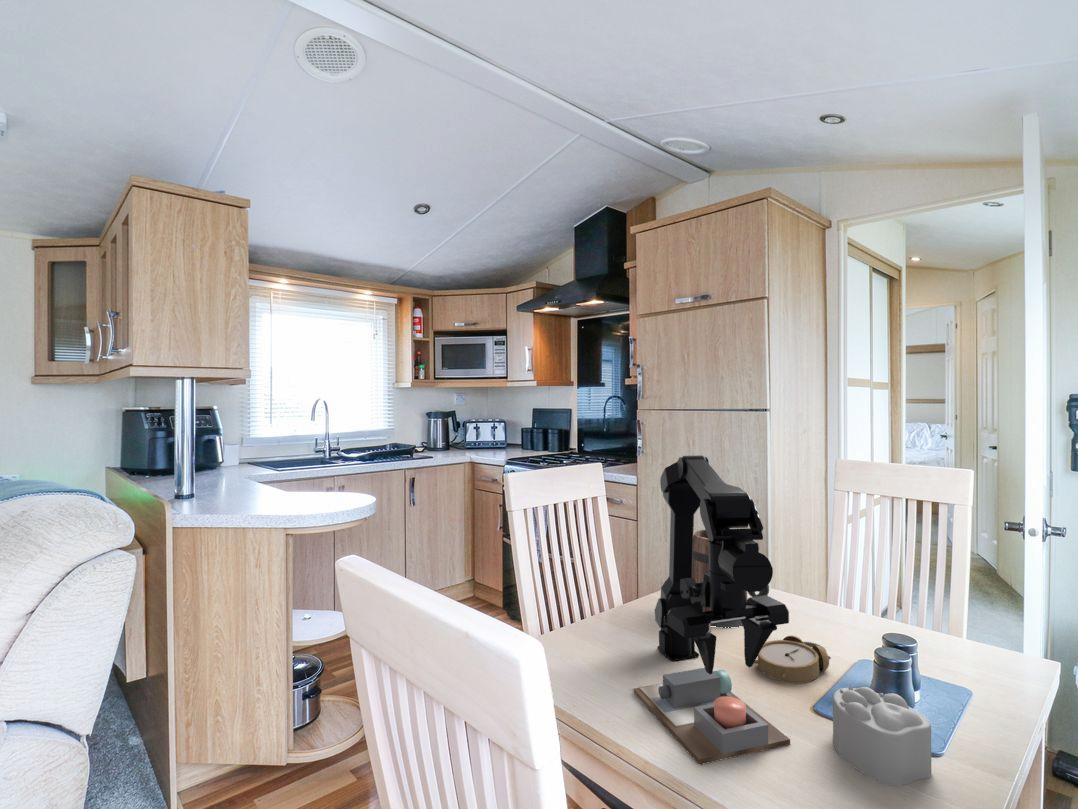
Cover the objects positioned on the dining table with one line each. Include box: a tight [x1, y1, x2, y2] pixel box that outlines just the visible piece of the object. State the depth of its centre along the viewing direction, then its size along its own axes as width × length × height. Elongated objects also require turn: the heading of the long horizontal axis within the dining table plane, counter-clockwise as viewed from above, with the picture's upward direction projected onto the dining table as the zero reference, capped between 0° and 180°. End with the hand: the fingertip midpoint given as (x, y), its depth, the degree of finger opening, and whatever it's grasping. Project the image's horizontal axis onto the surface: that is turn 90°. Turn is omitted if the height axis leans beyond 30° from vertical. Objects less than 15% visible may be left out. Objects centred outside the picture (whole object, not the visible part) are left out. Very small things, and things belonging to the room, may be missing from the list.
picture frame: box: [633, 682, 791, 765], centre depth 100 cm, size 16×22×1 cm
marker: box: [658, 667, 733, 709], centre depth 104 cm, size 13×4×4 cm, turn 107°
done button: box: [714, 697, 746, 729], centre depth 93 cm, size 5×5×3 cm
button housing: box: [694, 703, 768, 754], centre depth 93 cm, size 8×8×3 cm
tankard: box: [692, 529, 770, 629], centre depth 146 cm, size 24×17×20 cm
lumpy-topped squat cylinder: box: [832, 686, 932, 787], centre depth 88 cm, size 10×13×9 cm
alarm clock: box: [754, 635, 832, 684], centre depth 117 cm, size 11×5×15 cm
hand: (729, 669), depth 93 cm, fingers open, 7 cm apart
